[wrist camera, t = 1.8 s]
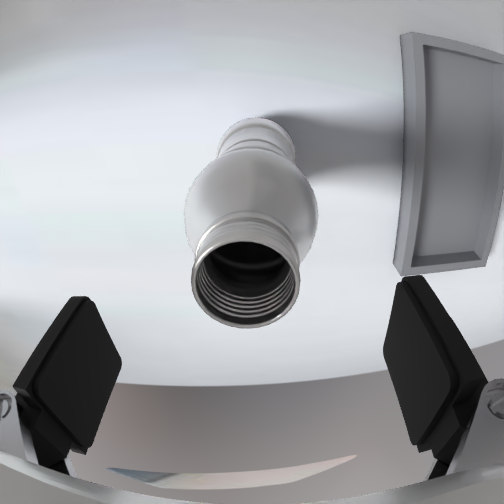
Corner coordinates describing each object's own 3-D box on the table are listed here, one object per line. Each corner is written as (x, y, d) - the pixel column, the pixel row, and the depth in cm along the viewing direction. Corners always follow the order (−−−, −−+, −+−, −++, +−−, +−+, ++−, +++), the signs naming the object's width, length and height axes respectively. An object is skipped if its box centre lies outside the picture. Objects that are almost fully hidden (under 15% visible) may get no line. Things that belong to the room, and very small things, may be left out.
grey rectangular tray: (399, 35, 21) (411, 32, 19) (494, 56, 20) (509, 57, 18) (392, 263, 33) (400, 276, 31) (475, 255, 32) (485, 266, 30)
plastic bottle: (297, 119, 26) (369, 202, 9) (286, 190, 29) (317, 361, 12) (223, 111, 26) (143, 175, 8) (217, 182, 29) (155, 344, 12)
